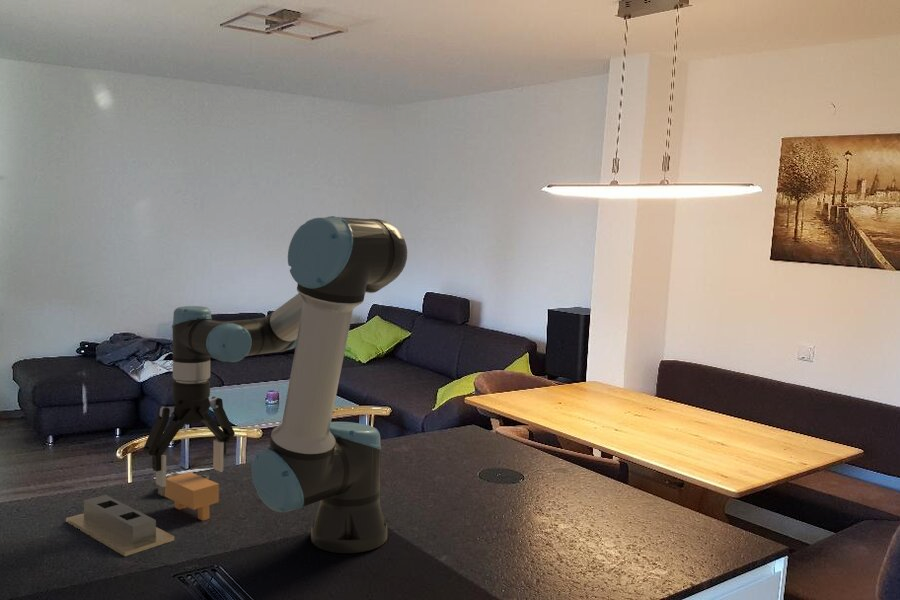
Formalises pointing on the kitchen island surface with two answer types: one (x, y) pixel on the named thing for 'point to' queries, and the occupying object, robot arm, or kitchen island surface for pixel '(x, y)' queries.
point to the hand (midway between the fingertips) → (190, 477)
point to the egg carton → (162, 489)
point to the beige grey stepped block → (119, 526)
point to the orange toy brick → (192, 493)
